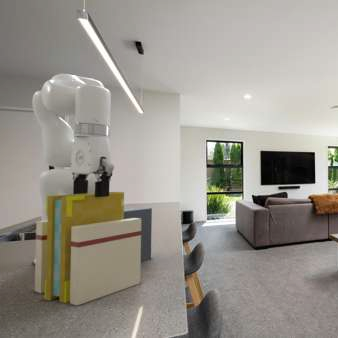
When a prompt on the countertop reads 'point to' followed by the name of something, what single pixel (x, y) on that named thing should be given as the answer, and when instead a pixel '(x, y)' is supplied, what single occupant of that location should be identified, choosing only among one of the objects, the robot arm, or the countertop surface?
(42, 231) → the cream book
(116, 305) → the countertop surface
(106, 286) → the cream panel
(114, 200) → the book
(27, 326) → the countertop surface
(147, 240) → the grey book
